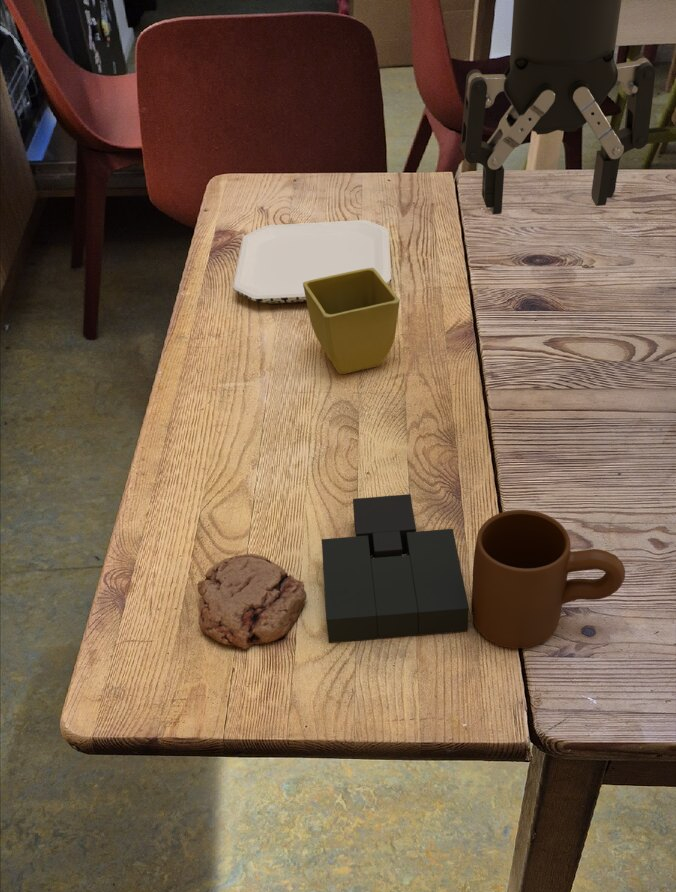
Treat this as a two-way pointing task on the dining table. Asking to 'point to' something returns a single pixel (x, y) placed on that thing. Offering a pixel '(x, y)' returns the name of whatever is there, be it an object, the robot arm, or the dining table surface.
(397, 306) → the flower pot
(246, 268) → the plate
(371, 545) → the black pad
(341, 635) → the base pad
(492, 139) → the robot arm
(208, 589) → the cookie
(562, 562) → the mug
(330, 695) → the dining table surface
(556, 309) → the dining table surface
